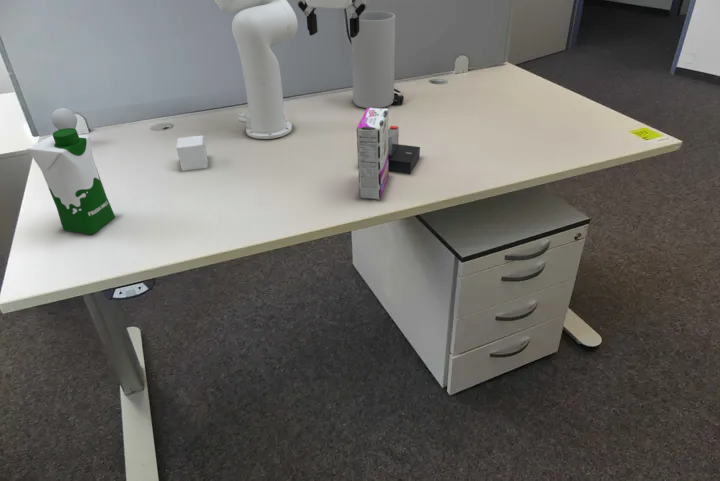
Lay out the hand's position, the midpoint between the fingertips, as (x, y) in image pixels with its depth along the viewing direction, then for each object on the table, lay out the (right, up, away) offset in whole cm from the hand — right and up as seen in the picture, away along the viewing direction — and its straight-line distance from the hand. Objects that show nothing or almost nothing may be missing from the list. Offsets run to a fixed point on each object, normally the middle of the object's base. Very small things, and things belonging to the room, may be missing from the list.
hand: (333, 35), depth 115 cm
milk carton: (-49, -42, -9) cm, 66 cm away
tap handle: (+13, -24, +9) cm, 29 cm away
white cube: (-35, -27, +13) cm, 46 cm away
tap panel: (+13, -27, +10) cm, 32 cm away
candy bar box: (+9, -34, +1) cm, 35 cm away
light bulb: (-71, -20, +25) cm, 78 cm away
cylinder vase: (+10, -3, +46) cm, 47 cm away
